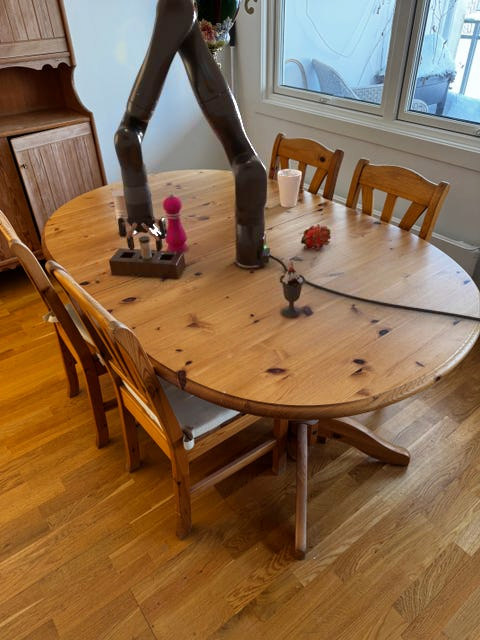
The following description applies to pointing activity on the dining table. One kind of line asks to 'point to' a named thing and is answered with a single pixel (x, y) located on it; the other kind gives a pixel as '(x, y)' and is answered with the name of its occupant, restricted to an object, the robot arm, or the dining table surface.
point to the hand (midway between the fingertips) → (145, 249)
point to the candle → (120, 207)
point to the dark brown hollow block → (147, 264)
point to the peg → (145, 247)
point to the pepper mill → (174, 224)
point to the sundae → (292, 290)
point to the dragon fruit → (316, 237)
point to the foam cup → (289, 186)
